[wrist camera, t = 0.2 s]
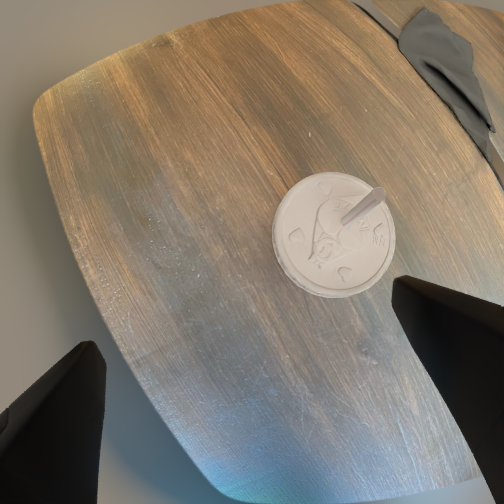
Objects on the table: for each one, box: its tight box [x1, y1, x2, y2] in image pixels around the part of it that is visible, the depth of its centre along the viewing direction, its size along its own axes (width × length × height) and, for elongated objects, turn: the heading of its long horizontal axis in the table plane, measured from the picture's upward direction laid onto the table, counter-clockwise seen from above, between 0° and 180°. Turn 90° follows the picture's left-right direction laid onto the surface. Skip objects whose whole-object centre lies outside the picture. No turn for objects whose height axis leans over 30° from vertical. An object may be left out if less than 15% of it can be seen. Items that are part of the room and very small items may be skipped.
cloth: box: [398, 7, 496, 163], centre depth 27 cm, size 26×14×2 cm, turn 168°
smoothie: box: [272, 172, 395, 298], centre depth 18 cm, size 6×6×14 cm
